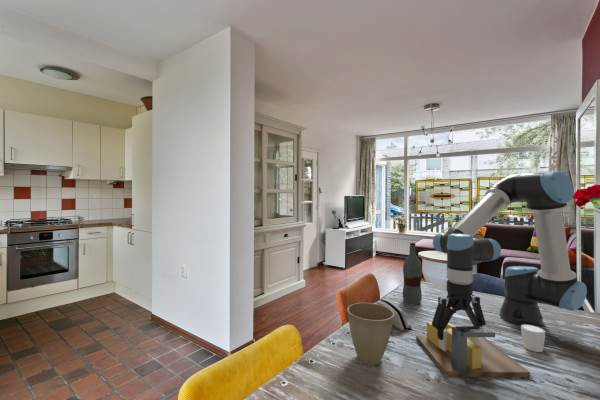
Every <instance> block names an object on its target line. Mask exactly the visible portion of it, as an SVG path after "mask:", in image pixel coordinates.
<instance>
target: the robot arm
mask: <svg viewBox="0 0 600 400" xmlns="http://www.w3.org/2000/svg"><path fill="white" fill-rule="evenodd" d="M573 194H574V185H573V183H572V180H571V178H570V177H569V176H568V175H567V174H565V173H564V172H562V171H558V170H557V171H549V170H547V171H536V172H523V173H514V174H510V175H509V176H506V177H504V178H501V179H500V180H498V181H497V182H495V184H493V185H491V186H490V188H488V189H487V190H486V192H485V194H484V197H483V198H481V200H479V201H478V203H475V205H474V206H473V207H472V208H471V209H470V210H469V211H468V212H467V213H466V214H464V216H463V217H461V218H460V219H459V220H458V221H457V222H455V224H454V225H453V226H452V227H451V228H450V229H449V230H448V231H447V232H446V233H445V232H439V233H436V234H435V235H434V236H433V239H432V246H433V249H435V250H436V251H437V252H440V253H443V254H445V255H446V279H447V280H446V292H447V296H446V297H441V296H438V298H437V301H438V302H437V303H438V304H437V306H436V309H435V313H434V314H433V315H434V316H433V318H432V326H433V327H435V328H436V329H437V337H438V339H439V347H440V348H441V349H442V350H443V351H447V331H446V330H445V328H446V326H447V324H448V323H450V321H451V319H452V318H453V315H454V314H456V313H457V311H458V312H459V311H464V312H465V314H466V315H467V317H468V318H469V320H470V322H471V324H470V325H469V326H481V327H486V325H487V322H486V320H485V315H484V313H483V309H482V307H481V297H479V296H478V295H475V294H474V292H473V291H474V290H473V289H474V288H473V286H474V285H473V281H474V263H479V262H480V263H481V262H490V261H495V260H497V259H498V258H499V257H500V256H501V253H502V247H501V245H500V244H499V242H498V241H497V240H496V239H493V238H487V237H484V238H476V237H474V236H475V235H476V234H478V232H479V231H481V229H482V228H483V227H485V225H487V223H489V222H490V221H491V219H493V217H495V215H497V214H498V213H499V211H501V210H502V209H505V208H508V207H509V206H510V205H511V204H513V203H526V208H527V209H528V211H531V213H532V217H533V223H534V229H535V236H536V242H537V243H536V244H537V250H538V255H539V262H540V269H539V268H537V267H535V266H523V265H518V266H516V265H513V266H507V267H506V268H505V271H504V300H503V302H502V304H501V307H500V308H499V317H500V318H502V319H503V320H505V321H507V322H510V323H512V324H516V325H520V326H521V325H524V324H526V325H533V326H537V327H542V326H543V325H544V317H543V316H542V312H541V310H540V308H539V307H540V306H539V302H540V303H543V304H547V305H550V306H553V307H556V308H558V309H562V310H567V311H569V312H570V311H577V310H578V309H580V308H581V307H582V306H583V304H584V303H585V301H586V298H587V293H588V292H587V291H588V288H587V285H586V283H585V282H582V281H581V280H578V277H577V273H576V272H575V271H573V270H572V269H571V265H570V257H569V249H568V244H567V237H566V228H565V221H564V215H563V210H564V209H565V208H567V206H568V203H569V202H570V201H572V199H573V198H574V195H573ZM471 305H472V306H471ZM445 309H446V310H445ZM441 325H442V326H441ZM470 341H471V342H473V343H475V344H476V345H478V337H470Z"/></svg>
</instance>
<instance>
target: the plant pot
mask: <svg viewBox="0 0 600 400" xmlns="http://www.w3.org/2000/svg"><path fill="white" fill-rule="evenodd" d="M347 318H348V325H349V330H350V336H351V340H352V342H353V343H352V344H353V347H354V350H355V354H356V356H357V359H358V360H359V362H361V363H362V364H365V365H368V366H376V365H379V364H380V363H381V361H382V359H383V357H384V355H385V352H386V349H387V346H388V343H389V340H390V336H391V333H392V329H393V318H394V313H393V311H392V310H391V309H389V308H387V307H385V306H382V305H378V304H376V303H372V302H357V303H353V304H350V305H348V307H347Z"/></svg>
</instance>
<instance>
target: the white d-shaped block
mask: <svg viewBox="0 0 600 400" xmlns="http://www.w3.org/2000/svg"><path fill="white" fill-rule="evenodd" d="M375 304H378V305H382V306H385V307H387V308H389V309H391V310H392V311H393V313H394V318H393V324H392V326H394V325H395V327H396V328H397V329H399V330H400V331H405V328H406V329H408V328H409V329H411V330H412V329H413V327H412V325H411V324H410V323H409V322H408V320H407V318H406V315H405V312H404V310H403V309H402V308H400V307H399V306H398V305H397V304H396V302H393V301H391V300H390V299H386V298H381V299H380V300H377V301H376V302H375Z"/></svg>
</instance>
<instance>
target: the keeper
mask: <svg viewBox="0 0 600 400" xmlns="http://www.w3.org/2000/svg"><path fill="white" fill-rule="evenodd" d="M467 337H485V338H496V332H495V331H494V330H492V329H491V328H490V327H488V326H483V327H481V326H470V325H468V326H464V325H461V326H460V325H459V326H458V325H456V326H455V327H452V355H451V365H452V367H453V368H454V369H455V370H456V371H467Z"/></svg>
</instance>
